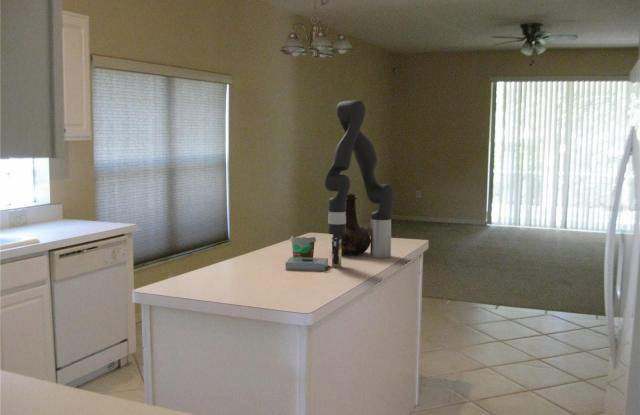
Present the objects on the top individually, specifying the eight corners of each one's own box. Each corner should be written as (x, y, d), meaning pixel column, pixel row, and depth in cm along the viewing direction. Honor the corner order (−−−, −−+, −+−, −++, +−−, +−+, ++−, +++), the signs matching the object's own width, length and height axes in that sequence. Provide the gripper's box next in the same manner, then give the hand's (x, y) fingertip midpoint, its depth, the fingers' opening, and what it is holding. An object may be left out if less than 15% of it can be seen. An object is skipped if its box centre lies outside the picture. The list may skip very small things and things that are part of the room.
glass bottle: (376, 255, 294) (377, 195, 291) (341, 258, 287) (341, 196, 284) (360, 249, 310) (360, 192, 307) (326, 251, 304) (326, 193, 301)
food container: (285, 258, 285) (285, 236, 284) (292, 256, 291) (292, 234, 289) (309, 261, 279) (309, 238, 278) (315, 259, 285) (316, 236, 284)
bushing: (341, 266, 269) (342, 247, 268) (340, 268, 265) (341, 249, 265) (332, 265, 270) (332, 247, 269) (331, 267, 266) (331, 248, 265)
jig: (328, 265, 271) (328, 258, 271) (324, 270, 259) (324, 263, 259) (291, 263, 273) (291, 257, 273) (285, 269, 262) (285, 262, 261)
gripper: (344, 224, 258) (343, 266, 260) (347, 220, 272) (347, 260, 274) (325, 224, 259) (325, 266, 261) (330, 220, 273) (329, 259, 275)
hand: (336, 262), depth 267 cm, fingers closed on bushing, 4 cm apart
